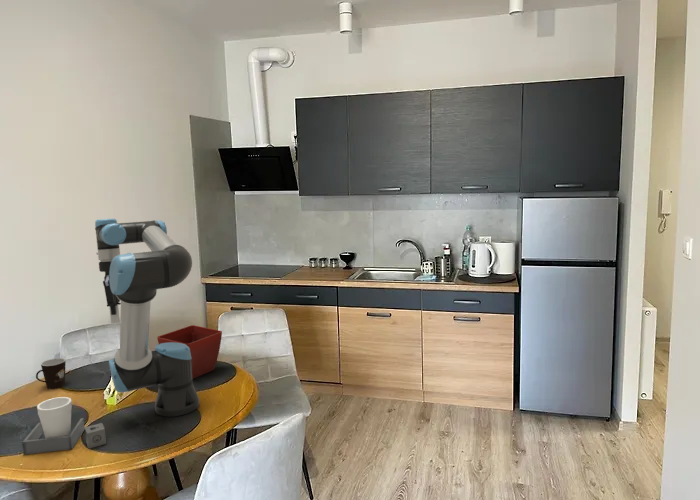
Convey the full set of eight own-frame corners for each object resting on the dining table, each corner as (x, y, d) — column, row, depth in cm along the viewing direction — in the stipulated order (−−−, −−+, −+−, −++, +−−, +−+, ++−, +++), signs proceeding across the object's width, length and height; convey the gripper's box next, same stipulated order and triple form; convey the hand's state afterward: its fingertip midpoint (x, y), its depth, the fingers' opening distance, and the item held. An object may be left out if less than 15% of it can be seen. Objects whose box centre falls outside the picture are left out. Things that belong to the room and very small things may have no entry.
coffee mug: (64, 379, 218) (61, 356, 217) (71, 385, 212) (68, 361, 211) (32, 388, 210) (29, 364, 209) (38, 394, 204) (35, 369, 203)
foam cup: (81, 439, 168) (77, 400, 166) (52, 453, 160) (47, 412, 159) (64, 432, 173) (60, 394, 171) (35, 445, 166) (30, 405, 164)
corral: (84, 429, 175) (83, 418, 174) (72, 449, 162) (70, 436, 162) (39, 434, 172) (38, 422, 172) (23, 454, 160) (22, 442, 159)
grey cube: (86, 442, 167) (84, 427, 166) (103, 437, 169) (101, 422, 169) (88, 448, 163) (87, 433, 162) (106, 443, 165) (104, 428, 165)
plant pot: (190, 384, 210) (186, 343, 208) (159, 375, 221) (155, 336, 218) (225, 369, 226) (223, 330, 224) (195, 361, 236) (192, 324, 234)
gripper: (104, 259, 203) (110, 320, 205) (93, 262, 190) (99, 327, 192) (124, 258, 204) (130, 318, 206) (115, 260, 192) (121, 325, 193)
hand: (115, 322), depth 199 cm, fingers closed
